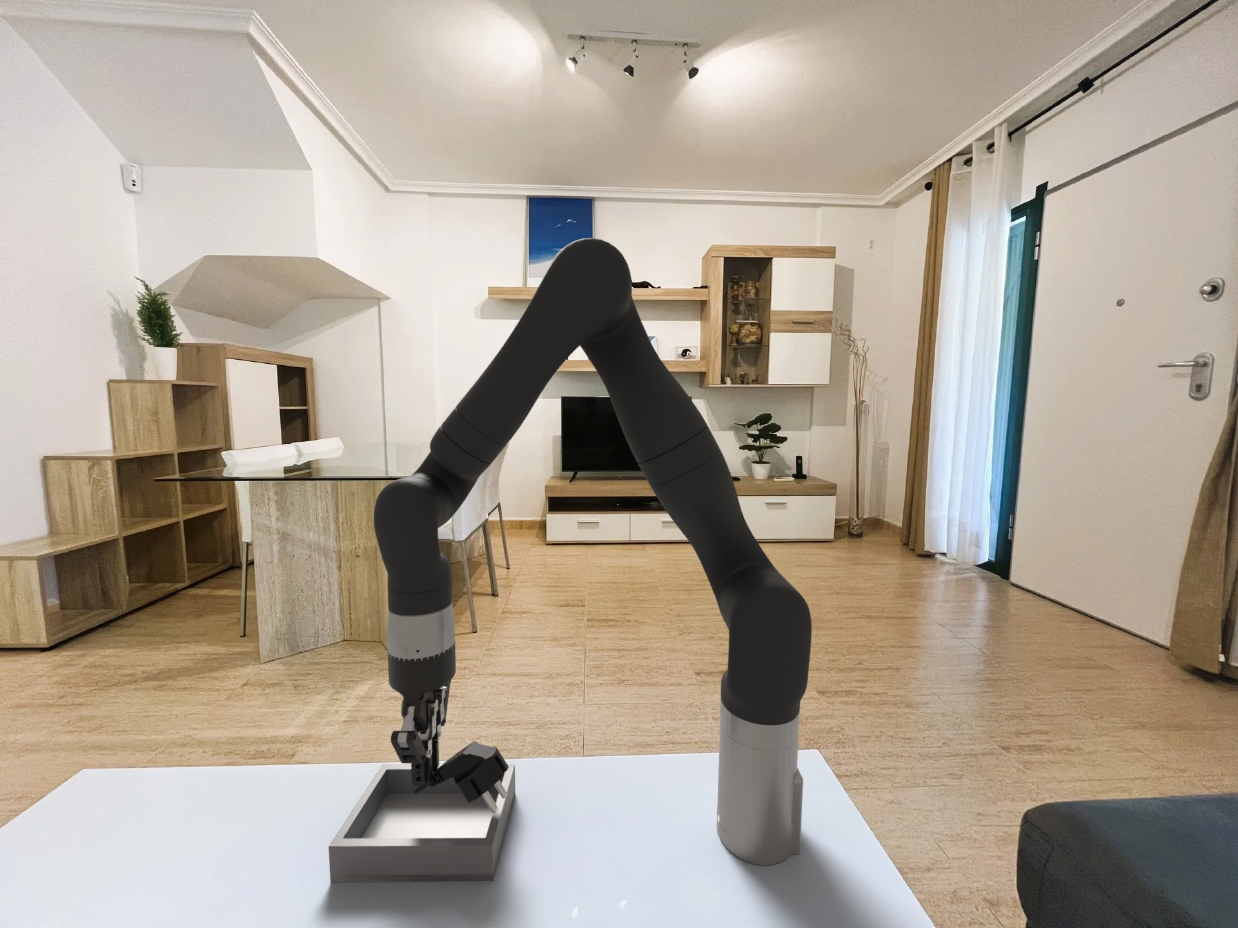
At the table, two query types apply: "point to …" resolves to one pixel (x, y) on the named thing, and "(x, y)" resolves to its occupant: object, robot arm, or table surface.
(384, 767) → the box
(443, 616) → the robot arm
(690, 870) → the table surface
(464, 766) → the power plug
